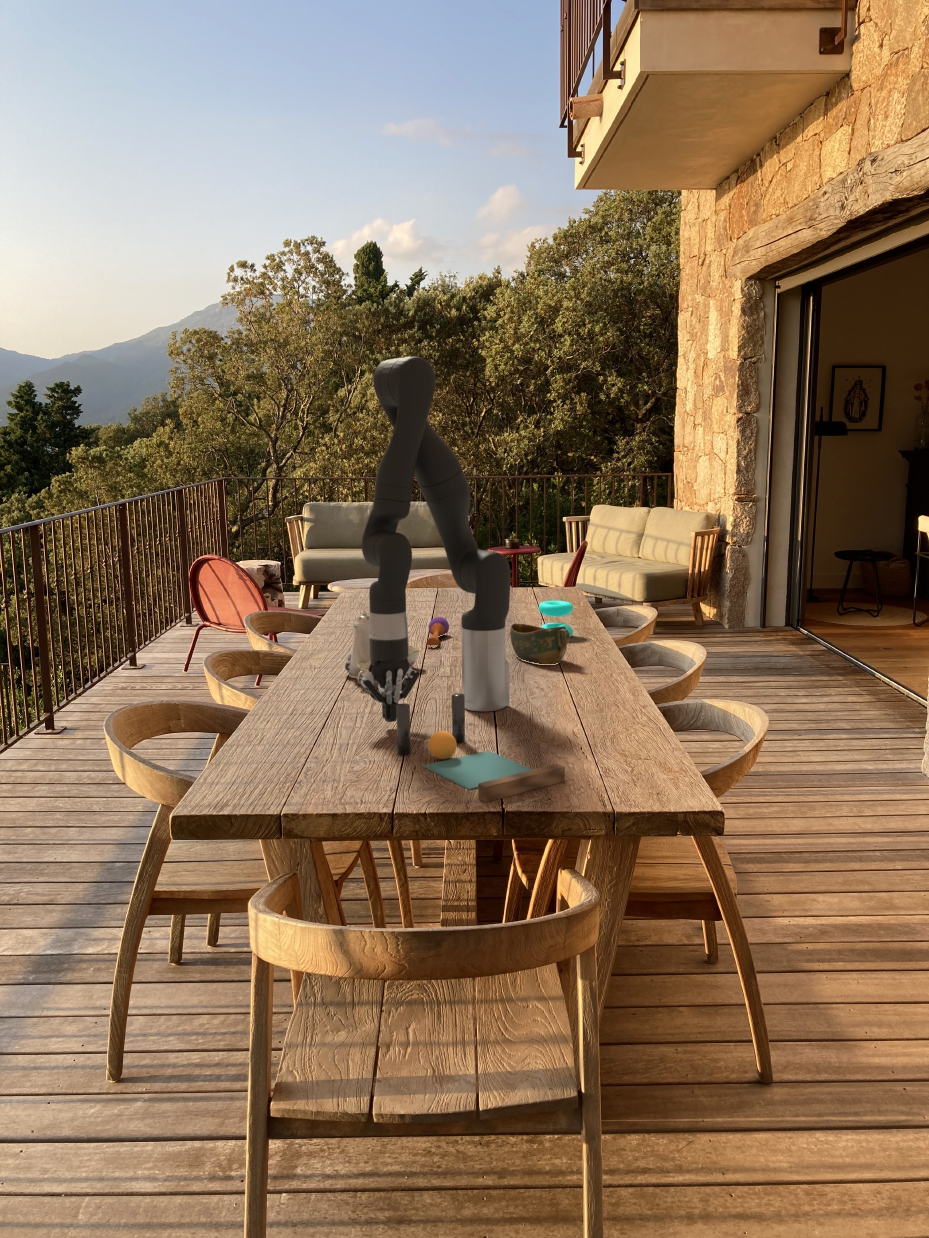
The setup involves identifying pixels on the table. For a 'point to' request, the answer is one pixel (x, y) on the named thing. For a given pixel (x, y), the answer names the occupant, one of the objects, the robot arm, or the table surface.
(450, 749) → the ball
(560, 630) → the cup
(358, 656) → the chinaware
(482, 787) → the stopper
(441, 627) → the kendama
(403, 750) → the post
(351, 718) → the table surface
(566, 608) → the donuts
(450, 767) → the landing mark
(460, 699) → the post
